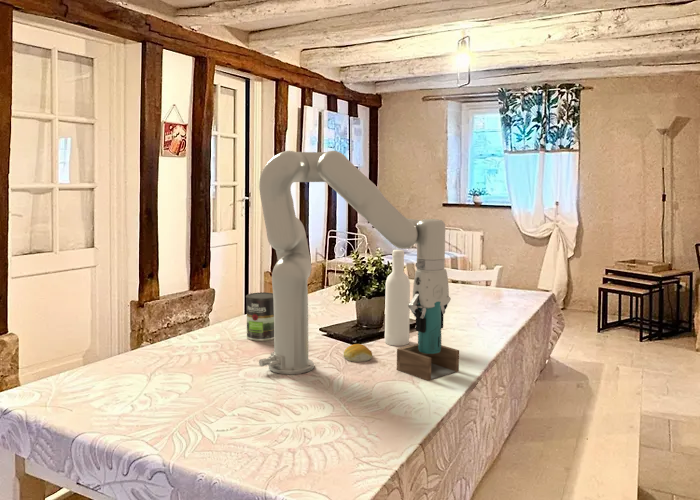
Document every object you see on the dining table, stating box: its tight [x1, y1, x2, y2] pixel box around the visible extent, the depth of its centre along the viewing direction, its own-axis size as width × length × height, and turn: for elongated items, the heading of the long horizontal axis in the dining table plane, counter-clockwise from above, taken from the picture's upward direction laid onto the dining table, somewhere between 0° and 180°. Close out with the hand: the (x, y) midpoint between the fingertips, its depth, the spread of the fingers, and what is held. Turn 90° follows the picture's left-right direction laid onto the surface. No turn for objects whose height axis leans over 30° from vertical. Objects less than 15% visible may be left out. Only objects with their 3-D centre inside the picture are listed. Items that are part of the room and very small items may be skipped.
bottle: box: [384, 249, 411, 347], centre depth 200 cm, size 8×8×30 cm
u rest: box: [396, 343, 460, 381], centre depth 174 cm, size 12×12×6 cm
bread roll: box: [343, 343, 373, 363], centre depth 186 cm, size 8×9×4 cm
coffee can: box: [245, 291, 274, 342], centre depth 207 cm, size 10×10×14 cm
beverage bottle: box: [417, 301, 443, 354], centre depth 172 cm, size 6×7×20 cm
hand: (429, 328), depth 173 cm, fingers closed on beverage bottle, 6 cm apart
